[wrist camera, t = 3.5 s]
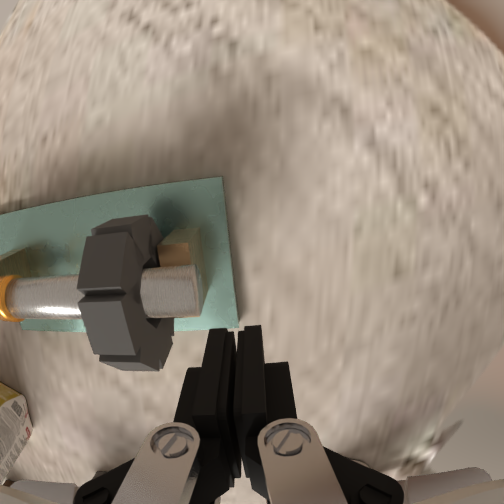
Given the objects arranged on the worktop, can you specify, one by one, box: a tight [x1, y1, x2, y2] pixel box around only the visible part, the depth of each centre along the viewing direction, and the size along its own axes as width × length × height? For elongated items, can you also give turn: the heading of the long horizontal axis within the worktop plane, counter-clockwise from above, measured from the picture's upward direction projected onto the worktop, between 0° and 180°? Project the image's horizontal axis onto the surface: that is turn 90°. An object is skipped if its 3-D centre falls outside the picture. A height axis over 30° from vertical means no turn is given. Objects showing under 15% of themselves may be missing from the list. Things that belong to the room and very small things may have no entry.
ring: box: [77, 214, 174, 371], centre depth 19 cm, size 2×9×9 cm, turn 5°
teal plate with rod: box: [0, 176, 239, 332], centre depth 21 cm, size 23×12×9 cm, turn 95°
